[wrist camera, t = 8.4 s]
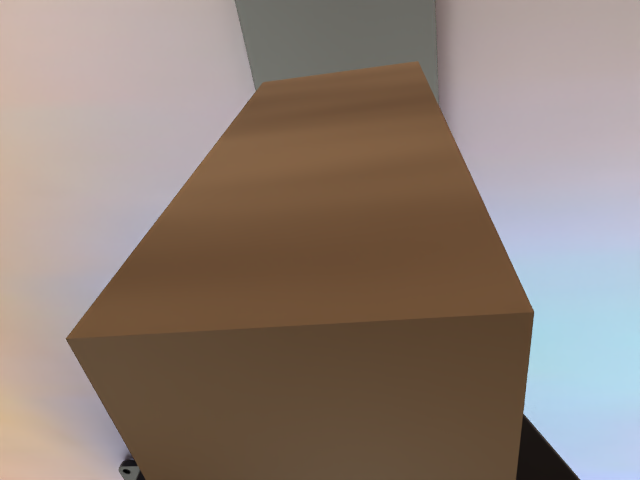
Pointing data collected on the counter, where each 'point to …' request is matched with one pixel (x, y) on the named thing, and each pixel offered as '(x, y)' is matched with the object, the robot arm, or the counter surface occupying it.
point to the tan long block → (319, 301)
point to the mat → (337, 36)
